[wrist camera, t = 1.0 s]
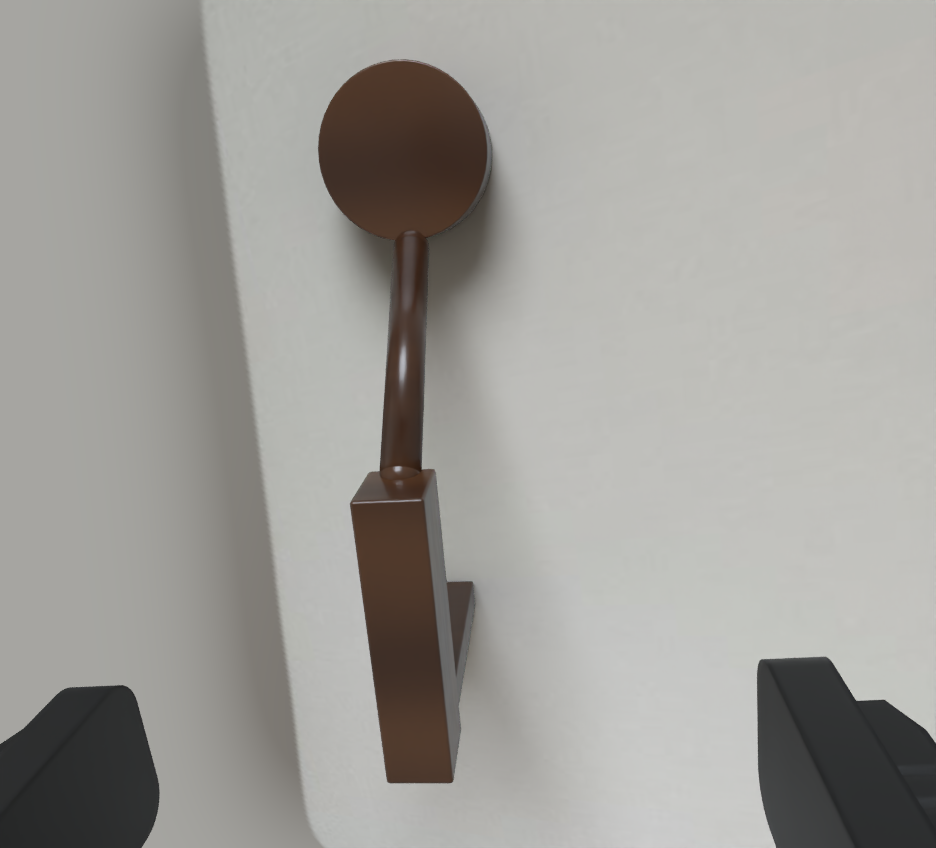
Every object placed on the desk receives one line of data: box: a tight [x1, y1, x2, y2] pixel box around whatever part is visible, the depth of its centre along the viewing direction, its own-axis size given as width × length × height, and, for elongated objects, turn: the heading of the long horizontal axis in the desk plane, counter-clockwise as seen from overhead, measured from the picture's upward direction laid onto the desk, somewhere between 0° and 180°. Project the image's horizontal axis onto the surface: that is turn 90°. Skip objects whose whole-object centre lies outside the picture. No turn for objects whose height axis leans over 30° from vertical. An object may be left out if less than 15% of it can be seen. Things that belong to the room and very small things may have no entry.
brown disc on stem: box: [318, 60, 492, 783], centre depth 24 cm, size 21×6×10 cm, turn 5°
